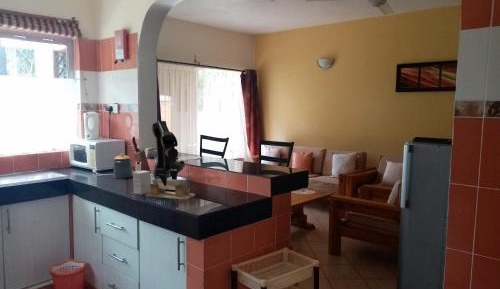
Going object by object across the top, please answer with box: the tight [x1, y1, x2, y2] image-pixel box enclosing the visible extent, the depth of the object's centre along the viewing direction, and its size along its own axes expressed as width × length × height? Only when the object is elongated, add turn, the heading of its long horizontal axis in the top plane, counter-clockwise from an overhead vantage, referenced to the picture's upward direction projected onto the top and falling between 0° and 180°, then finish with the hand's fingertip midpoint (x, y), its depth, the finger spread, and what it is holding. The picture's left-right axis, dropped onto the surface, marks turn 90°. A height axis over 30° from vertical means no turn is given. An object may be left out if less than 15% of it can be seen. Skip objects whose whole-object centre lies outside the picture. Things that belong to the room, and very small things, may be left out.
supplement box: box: [132, 170, 152, 195], centre depth 216 cm, size 7×7×13 cm
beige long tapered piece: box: [144, 182, 196, 200], centre depth 208 cm, size 10×26×7 cm, turn 70°
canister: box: [112, 152, 133, 180], centre depth 269 cm, size 13×13×18 cm
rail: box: [152, 178, 188, 191], centre depth 208 cm, size 4×20×5 cm, turn 70°
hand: (169, 184), depth 208 cm, fingers open, 9 cm apart
